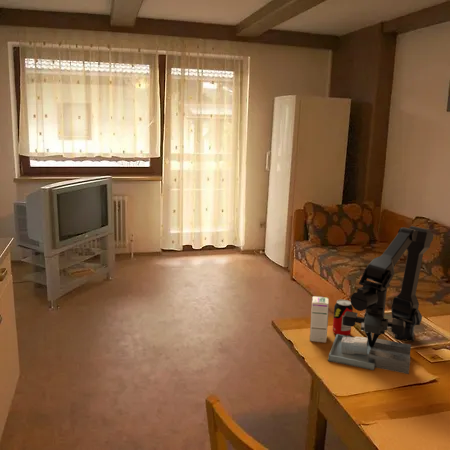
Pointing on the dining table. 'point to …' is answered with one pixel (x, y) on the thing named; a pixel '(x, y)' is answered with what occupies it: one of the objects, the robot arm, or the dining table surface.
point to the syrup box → (319, 319)
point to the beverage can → (341, 317)
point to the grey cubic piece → (360, 345)
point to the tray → (349, 355)
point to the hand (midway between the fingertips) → (371, 347)
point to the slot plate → (390, 356)
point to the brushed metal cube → (347, 345)
